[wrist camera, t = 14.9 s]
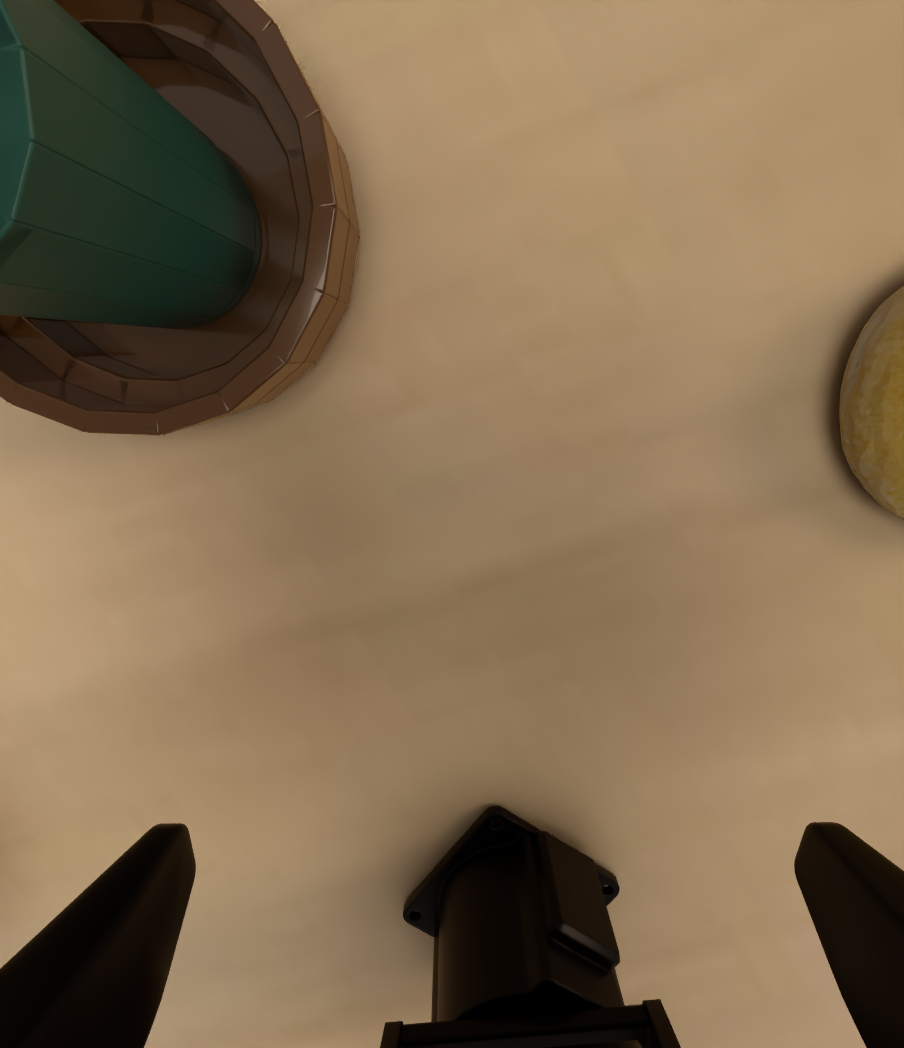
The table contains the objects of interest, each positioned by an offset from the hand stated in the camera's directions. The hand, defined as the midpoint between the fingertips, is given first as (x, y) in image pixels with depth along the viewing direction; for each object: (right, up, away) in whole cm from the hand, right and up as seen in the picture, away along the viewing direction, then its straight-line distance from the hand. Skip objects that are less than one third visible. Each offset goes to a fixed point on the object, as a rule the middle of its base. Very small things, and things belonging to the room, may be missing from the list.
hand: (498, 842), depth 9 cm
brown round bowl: (-9, +13, +9) cm, 19 cm away
